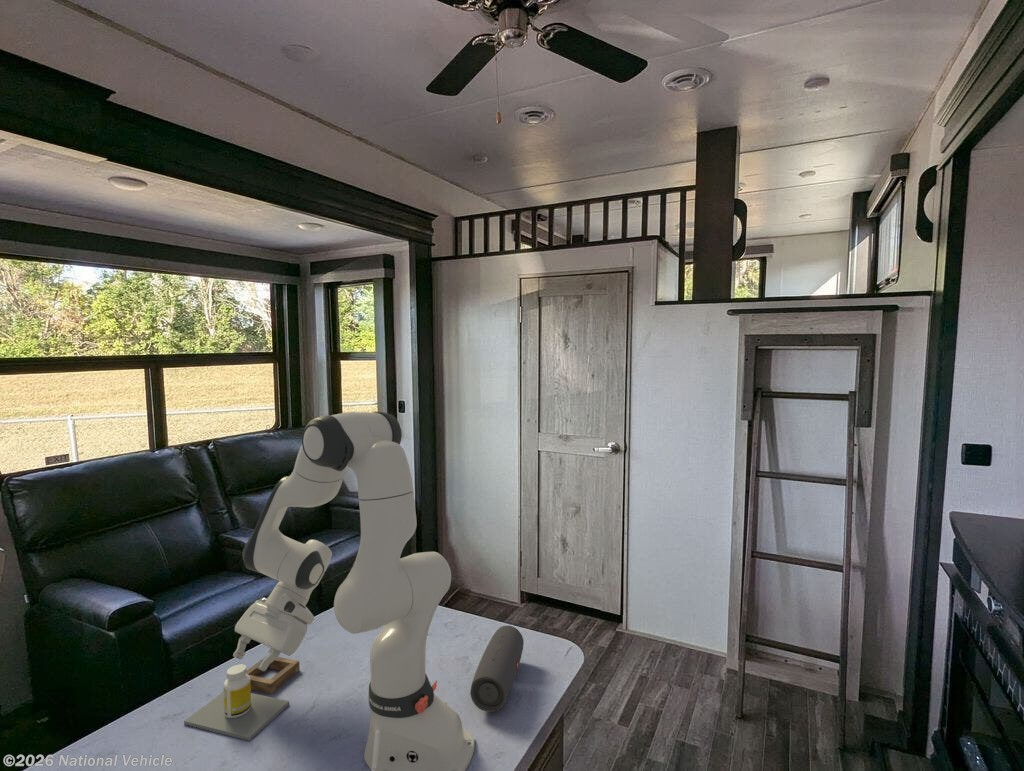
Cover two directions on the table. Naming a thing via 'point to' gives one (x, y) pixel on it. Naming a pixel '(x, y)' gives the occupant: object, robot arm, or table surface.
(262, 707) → the slate mat
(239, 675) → the supplement bottle
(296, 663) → the walnut collar
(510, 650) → the bluetooth speaker
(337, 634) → the table surface
